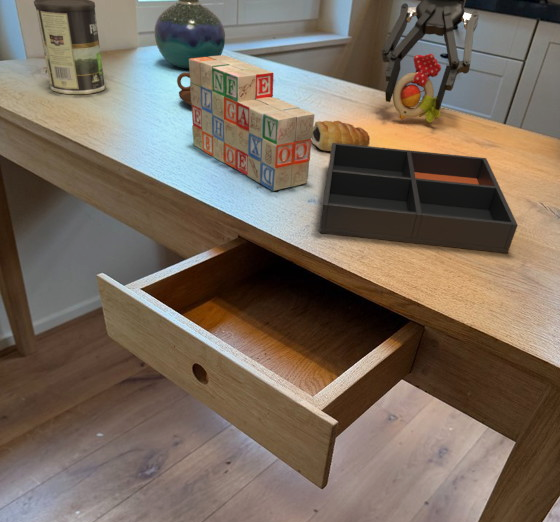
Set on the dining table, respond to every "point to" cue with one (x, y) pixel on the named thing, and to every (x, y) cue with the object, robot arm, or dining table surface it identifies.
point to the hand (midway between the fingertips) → (412, 101)
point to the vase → (188, 33)
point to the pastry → (338, 134)
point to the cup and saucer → (184, 89)
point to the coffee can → (71, 45)
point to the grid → (415, 198)
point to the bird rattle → (418, 90)
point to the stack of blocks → (249, 122)
